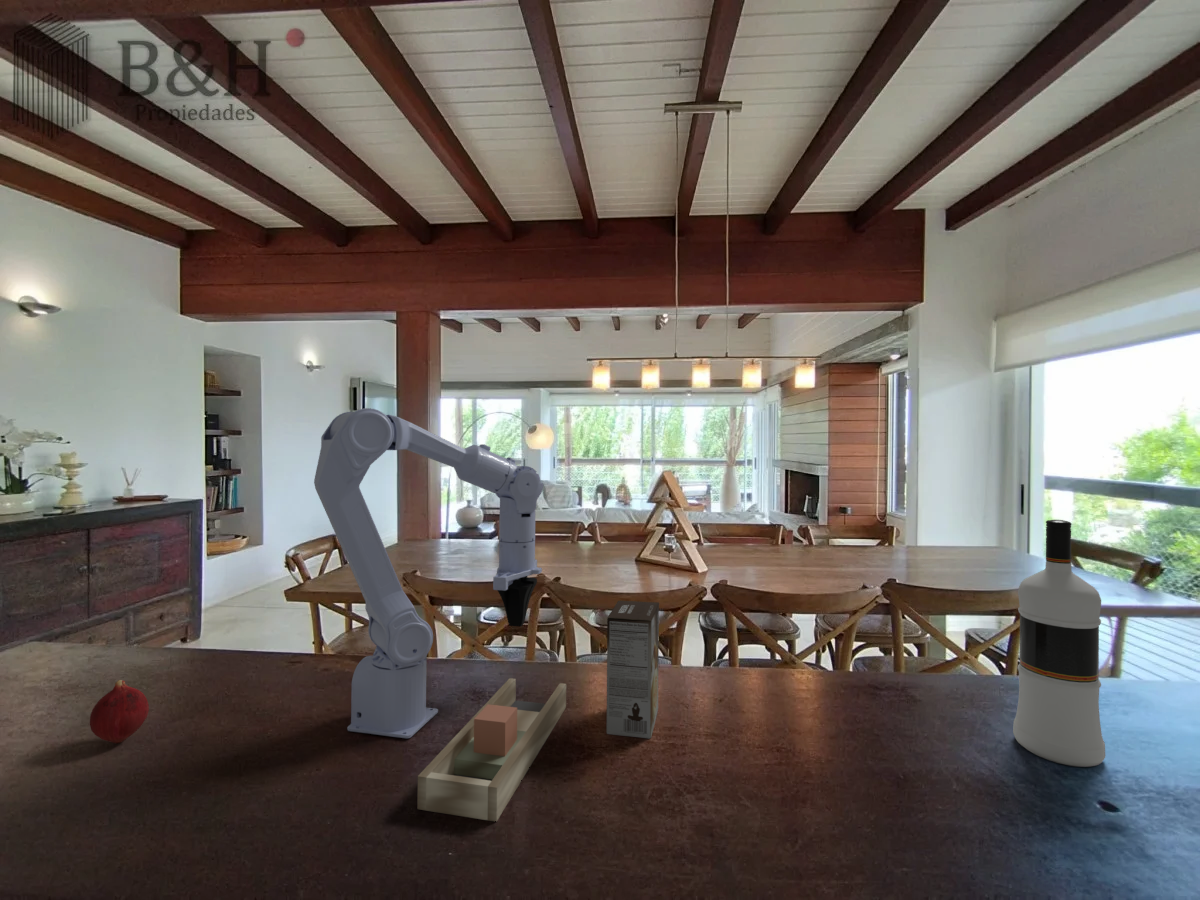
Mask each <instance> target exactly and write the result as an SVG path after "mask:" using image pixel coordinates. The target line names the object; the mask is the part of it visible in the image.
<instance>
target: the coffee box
mask: <svg viewBox="0 0 1200 900" xmlns="http://www.w3.org/2000/svg"><path fill="white" fill-rule="evenodd" d="M659 611H660V602H659V601H658V602H655V601H636V600H634V601H633V600H618V601H617V602H616V603H615V605H614V607H613V609H612V610H611V612H610V613H609V615H608V616H607V618H606V619H607V620H606V622H607V623H606V626H607V627H606V637H607V638H606V734H607V735H613V736H620V737H621V736H623V737H630V738H631V737H633V738H642V739H649V740H650V739H651V738H652V735H653V733H654V732H653V731H654V728H655V724H656V721H657V715H658V711H659V647H660V646H659V640H660V639H659V637H660V635H659V633H660V632H659V631H660V629H659V627H660V626H659V624H660V622H659V619H660V618H659V617H660V615H659V614H660V612H659Z"/></svg>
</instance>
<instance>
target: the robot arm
mask: <svg viewBox="0 0 1200 900" xmlns="http://www.w3.org/2000/svg"><path fill="white" fill-rule="evenodd" d="M320 439H321V442H320V443H321V444H320V451H319V456H318V461H317V464H316V465H317V466H316V469H315V475H314V481H313V484H314V488H315V491H316V493H317V495H318V498H319V499H320V500H319V501H320V502H321V505H322V507H323V509H324V512H325V513H326V517H327V518H328V521H329V522H330V523H329V524H330V525H331V527H332V529H333V531H334V534H335V537H336V539H337V540H338V543H339V545H340V546H341V549H342V551H343V554H344V556H345V558H346V561H347V563H348V565H349V567H350V570H351V572H352V574H353V577H354V579H355V581H356V584H357V585H358V587H359V590H360V592H361V594H362V598H363V600H364V601H365V606H364V607H365V612H366V614H367V617H368V627H367V628H368V629H367V631H368V637H369V638H370V641H371V642H372V643H373V644H374V645H375V649H374V652H373V654H372V655H367V656H365V657H363V658H362V659H361V660H360V661H359V663H358V664H357V665H356V667H355V669H354V672H353V675H352V680H351V694H350V695H351V701H350V702H351V703H350V704H351V707H350V708H351V709H350V710H351V713H350V717H351V718H350V724H349V725H348V726H347V732H354V733H360V734H369V735H370V734H371V735H378V736H385V737H393V738H402V739H410V738H412V737H414V735H415V734H416V733H417V732H418V731H419V730H420V729H422V727H424V726H425V725H426V724H427V723H428V722H429V721H430V720H431V719H433V718H434V716H436V715H437V714H438V713H439V709H438V708H436V707H427V655H428V654H429V652H430V651H431V650H432V649H431V648H432V646H433V642H434V634H433V629H432V627H431V625H430V624H429V623H428V622H427V621H426V620H424V619H423V618H421V617H420V616H419V614H418V612H417V610H416V608H415V605H413V603H412V601H411V600H410V599H409V597H408V596H407V594H406V593H405V591H404V589H403V588H402V585H401V583H400V580H399V578H398V575H397V573H396V571H395V569H394V565H393V564H392V562H391V559H390V556H389V555H388V552H387V549H386V547H385V545H384V543H383V540H382V538H381V535H380V533H379V531H378V529H377V526H376V524H375V521H374V519H373V517H372V514H371V512H370V510H369V507H368V505H367V502H366V500H365V498H364V495H363V493H362V491H361V489H360V486H361V483H362V481H363V479H364V477H365V476H366V474H367V472H368V471H369V469H370V468H371V465H372V464H373V463H374V462H376V461H377V460H378V459H379V458H380V457H381V456H383V454H384V453H386V451H403V450H406V451H409V452H412V453H414V454H417V455H419V456H423V458H424V457H425V458H428V459H431V460H434V461H435V462H439V464H440V463H441V464H444V465H445V466H449V467H452V468H453V469H454V471H455V474H456V476H457V478H458V479H459V480H460V481H463V482H466V483H468V484H471V485H472V486H476V487H478V488H480V489H482V490H485V491H487V492H490V493H492V494H495V495H496V496H497V498H499V523H498V525H499V528H498V529H499V532H498V534H499V535H498V537H499V539H498V542H499V543H498V567H497V570H496V573H495V576H493V579H492V581H493V582H492V583H493V587H492V590H494V591H497V592H498V594H499V597H500V598H501V601H502V603H503V606H504V609H505V614H506V615H505V616H506V618H507V623H508V626H510V627H522V626H523V625H524V624H525V620H526V617H527V611H528V607H529V604H530V599H531V596H532V594H533V591H534V590H535V587H536V586H537V583H538V578H537V577H528V576H532V575H540V574H541V573H543V569H542V567H540V566H539V567H538V559H536V509H537V504H538V503H537V502H538V499H539V497H540V496H541V494H542V492H543V488H544V483H543V482H541V478H540V475H539V473H537V471H536V469H534V468H533V467H531V466H528V465H517V463H516V459H515V458H512V457H509V456H508V457H507V458H506V457H503V456H501V455H499V454H497V453H495V452H493V451H491V446H489V445H487V444H479V445H477V444H472V445H470V446H467V447H465V448H463V447H461V446H459V445H457V444H455V443H453V442H451V441H449V440H447V439H445V438H443V437H441V436H439V435H436V434H435V433H433V432H431V431H429V430H427V429H425V428H423V427H420V426H419V425H417V424H414V423H413V422H411V421H408V420H405V419H404V418H401V417H400V416H396V415H393V414H385V413H383V412H382V411H380V410H378V409H375V408H371V407H370V408H369V407H366V408H360V409H357V410H355V411H346V412H342V413H340V414H339V415H336V416H335V417H334V418H333V419H332V421H331V422H330V423H329V424H328V426H327V428H326V429H325V431H324V432H323V434H322V435H321V438H320Z"/></svg>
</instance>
